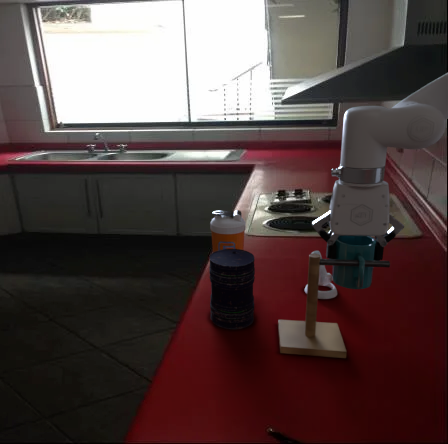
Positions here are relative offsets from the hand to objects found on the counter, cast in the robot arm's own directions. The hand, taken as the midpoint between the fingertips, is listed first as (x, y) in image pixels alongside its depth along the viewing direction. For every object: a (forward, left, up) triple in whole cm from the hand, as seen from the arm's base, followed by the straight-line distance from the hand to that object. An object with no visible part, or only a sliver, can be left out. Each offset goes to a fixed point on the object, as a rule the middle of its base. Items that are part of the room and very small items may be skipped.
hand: (353, 261), depth 83 cm
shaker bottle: (+26, -19, -16) cm, 36 cm away
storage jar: (+24, -2, -16) cm, 29 cm away
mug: (0, +2, -4) cm, 5 cm away
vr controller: (+3, -17, -16) cm, 23 cm away
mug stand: (+4, +5, -16) cm, 17 cm away
